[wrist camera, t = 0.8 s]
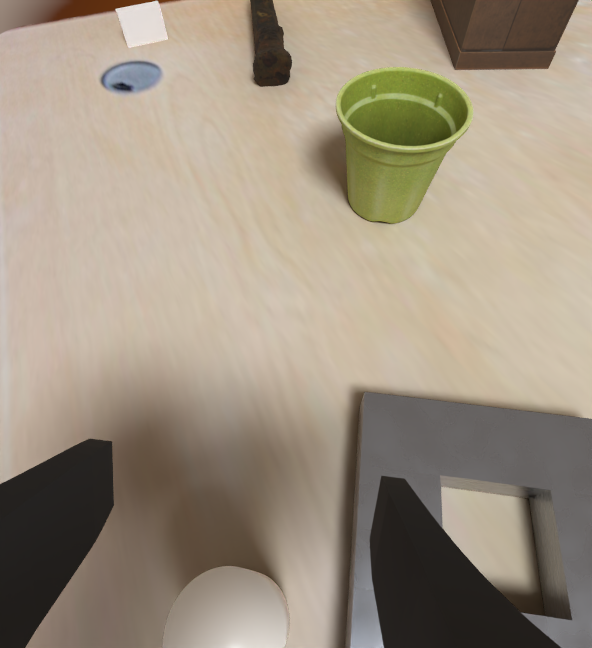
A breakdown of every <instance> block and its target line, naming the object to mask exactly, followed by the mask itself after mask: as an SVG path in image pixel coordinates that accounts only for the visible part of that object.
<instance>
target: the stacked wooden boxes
mask: <svg viewBox="0 0 592 648" xmlns="http://www.w3.org/2000/svg"><path fill="white" fill-rule="evenodd" d="M577 2H578V0H431V3H432V5H433V8H434V11H435V14H436V17H437V20H438V23H439V25H440V28H441V31H442V34H443V37H444V40H445V43H446V45H447V48H448V51H449V54H450V57H451V60H452V63H453V65H454V68H455V70H484V69H548V68H549V66H550V63H551V61H552V59H553V57H554V55H555V53H556V51H555V49H556V47H557V45H558V43H559V41H560V38H561V36H562V34H563V32H564V30H565V28H566V26H567V24H568V22H569V19H570V17H571V15H572V13H573V11H574V9H575V7H576V5H577Z"/></svg>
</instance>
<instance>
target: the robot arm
mask: <svg viewBox="0 0 592 648" xmlns="http://www.w3.org/2000/svg"><path fill="white" fill-rule="evenodd" d="M113 506H114V499H113V462H112V442H111V441H103V440H95V439H88V440H86V441H84V442H81V443H79V444H77V445H75V446H73V447H71V448H69V449H68V450H66V451H64V452H62V453H60V454H58V455H56V456H54V457H52V458H50V459H49V460H47V461H45V462H43V463H41V464H39V465H37V466H35V467H33V468H31V469H29V470H27V471H26V472H24V473H22V474H20V475H18V476H16V477H14V478H12V479H10V480H8V481H6V482H4V483H2V484H0V648H25V647H26V645H27V644H28V642H29V640H30V639H31V637H32V636H33V634H34V632H35V631H36V629H37V628H38V626H39V625H40V623H41V622H42V620H43V619H44V617H45V616H46V614H47V613H48V611H49V610H50V608H51V607H52V605H53V604H54V603H55V601H56V600H57V598H58V597H59V595H60V594H61V592H62V591H63V589H64V588H65V586H66V585H67V583H68V582H69V580H70V579H71V577H72V576H73V575H74V573H75V572H76V570H77V569H78V567H79V566H80V564H81V563H82V561H83V560H84V558H85V557H86V555H87V554H88V552H89V551H90V549H91V547H92V546H93V544H94V543H95V541H96V539H97V537H98V536H99V534H100V532H101V530H102V528H103V526H104V524H105V522H106V520H107V518H108V516H109V514H110V512H111V510H112V508H113ZM369 540H370V558H371V573H372V582H373V589H374V594H375V600H376V606H377V612H378V618H379V623H380V629H381V635H382V640H383V646H384V648H561V647H560V646H559V645H557V644H556V643H555V642H554V641H553V640H552V639H550V638H549V637H548V636H547V635H546V634H545V633H543V632H542V631H541V630H540V629H539V628H538V627H536V626H535V625H534V624H533V623H532V622H531V621H530V620H529V619H527V618H526V617H525V616H524V615H523V614H522V613H521V612H520V611H519V610H518V609H517V608H515V607H514V606H513V605H512V604H511V603H510V602H509V601H508V600H507V599H506V598H505V597H504V596H503V595H502V594H501V593H500V592H499V591H498V590H497V589H496V588H495V587H494V586H493V585H492V584H491V583H490V582H489V581H488V580H487V579H486V578H485V577H484V576H483V575H482V574H481V573H480V572H479V570H478V569H477V568H476V567H475V566H474V565H473V564H472V563H471V562H470V560H469V559H468V558H467V557H466V556H465V555H464V554H463V553H462V552H461V550H460V549H459V548H458V547H457V546H456V544H455V543H454V542H453V541H452V540H451V538H450V537H449V536H448V535H447V533H446V532H445V531H444V530H443V529H442V527H441V526H440V525H439V523H438V522H437V521H436V520H435V518H434V517H433V516H432V514H431V513H430V512H429V510H428V509H427V508H426V506H425V505H424V504H423V502H422V501H421V500H420V498H419V497H418V496H417V494H416V493H415V492H414V490H413V489H412V488H411V486H410V485H409V484H408V482H407V481H406V480H405V479H404V478H396V477H388V476H381V480H380V485H379V491H378V496H377V501H376V507H375V512H374V517H373V523H372V528H371V533H370V539H369Z"/></svg>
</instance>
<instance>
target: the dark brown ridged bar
mask: <svg viewBox="0 0 592 648" xmlns="http://www.w3.org/2000/svg"><path fill="white" fill-rule="evenodd" d="M250 2H251V9H252V19H253V31H254V41H255V54H256V56H255V60H254V63H253V71H254V76H255V77H254V80H255V81H256V82H257V83H258V84H259V86H261V87H264V86H278V85H283V84H285V83H286V82H287V81H288V80H289V77H290V69H291V67H292V60H291V56H290V54H289V53H288V52H287V51H286V50H285V49H284V44H283V43H284V41H283V35H284V33H283V29H282V27H280V26H278V21H277V16H276V13H275V9H274V4H273V0H250Z"/></svg>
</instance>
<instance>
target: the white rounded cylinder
mask: <svg viewBox="0 0 592 648" xmlns="http://www.w3.org/2000/svg"><path fill="white" fill-rule="evenodd" d="M289 626H290V616H289V609H288V605H287V601H286V599H285V596H284V594H283V592H282V591H281V589H280V588H279V586H278V585H277V584H276V583H275V582H274V581H273V580H272V579H271V578H269V577H268V576H266V575H264V574H262V573H259V572H256V571H252V570H248V569H245V568H241V567H237V566H221V567H217V568H213V569H210V570H208V571H206V572H204V573H202V574H200V575H199V576H197V577H196V578H194V579H193V580H192V581H191V582H190V583H189V584H188V585H187V586H186V587H185V588H184V589H183V590H182V591H181V593H180V594H179V596H178V597H177V598H176V600H175V602H174V604H173V606H172V608H171V610H170V612H169V615H168V618H167V621H166V624H165V629H164V634H163V645H162V646H163V648H285V645H286V641H287V638H288V633H289Z"/></svg>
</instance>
